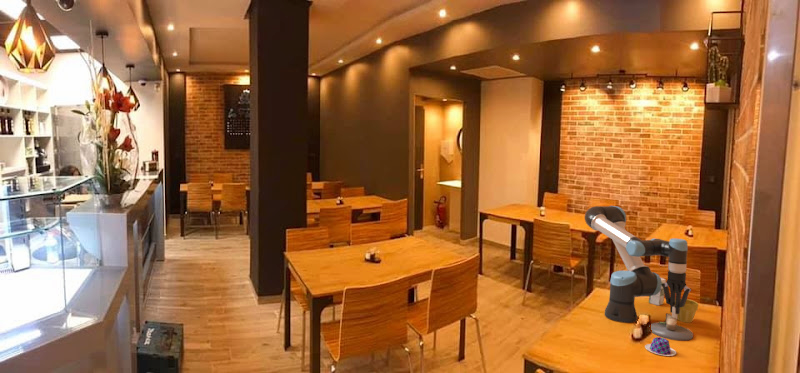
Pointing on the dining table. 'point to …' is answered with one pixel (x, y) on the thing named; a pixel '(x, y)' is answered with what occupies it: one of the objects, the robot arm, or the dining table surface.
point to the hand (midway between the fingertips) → (674, 319)
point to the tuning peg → (670, 322)
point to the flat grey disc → (671, 332)
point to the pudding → (660, 347)
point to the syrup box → (658, 296)
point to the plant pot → (687, 311)
